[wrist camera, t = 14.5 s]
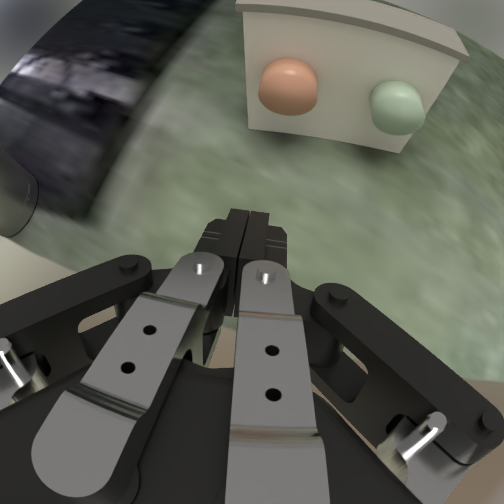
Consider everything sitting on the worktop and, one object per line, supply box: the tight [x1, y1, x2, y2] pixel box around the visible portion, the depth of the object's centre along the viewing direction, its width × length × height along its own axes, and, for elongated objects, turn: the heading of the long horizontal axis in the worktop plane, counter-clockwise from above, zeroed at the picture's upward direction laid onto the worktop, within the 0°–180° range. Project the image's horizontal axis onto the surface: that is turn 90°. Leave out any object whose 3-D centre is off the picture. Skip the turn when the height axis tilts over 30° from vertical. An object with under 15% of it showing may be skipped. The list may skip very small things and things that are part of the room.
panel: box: [235, 0, 470, 154], centre depth 25 cm, size 19×4×17 cm, turn 82°
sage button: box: [370, 81, 425, 136], centre depth 24 cm, size 5×8×5 cm, turn 172°
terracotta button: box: [258, 58, 318, 116], centre depth 25 cm, size 5×8×5 cm, turn 172°
